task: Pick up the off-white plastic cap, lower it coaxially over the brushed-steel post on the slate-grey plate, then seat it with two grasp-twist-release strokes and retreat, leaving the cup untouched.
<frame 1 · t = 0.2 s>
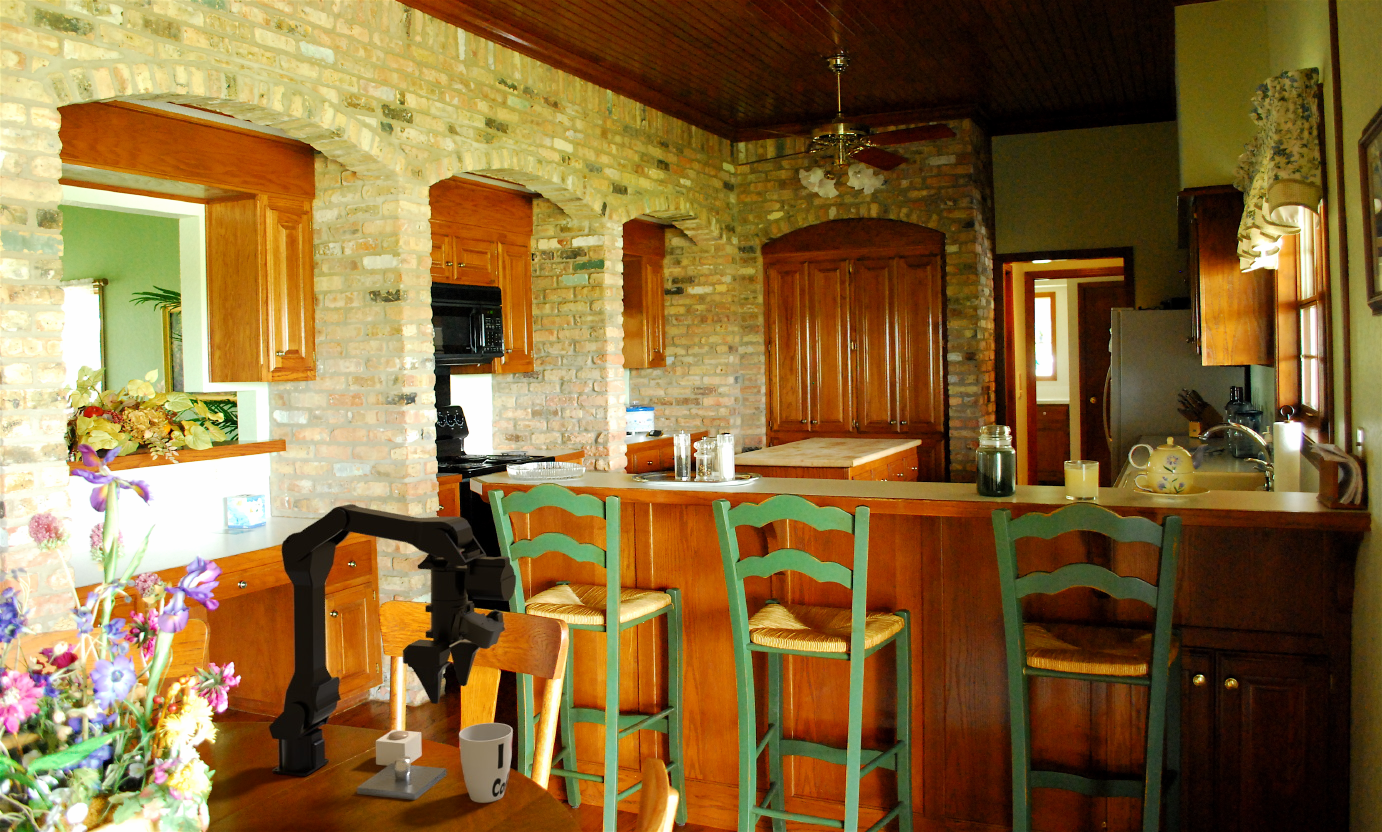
hand: (449, 694, 156), 14 cm above the table, fingers open, 9 cm apart
post fixture: (402, 783, 156), on the table
cup: (486, 796, 151), on the table
cap: (399, 759, 166), on the table
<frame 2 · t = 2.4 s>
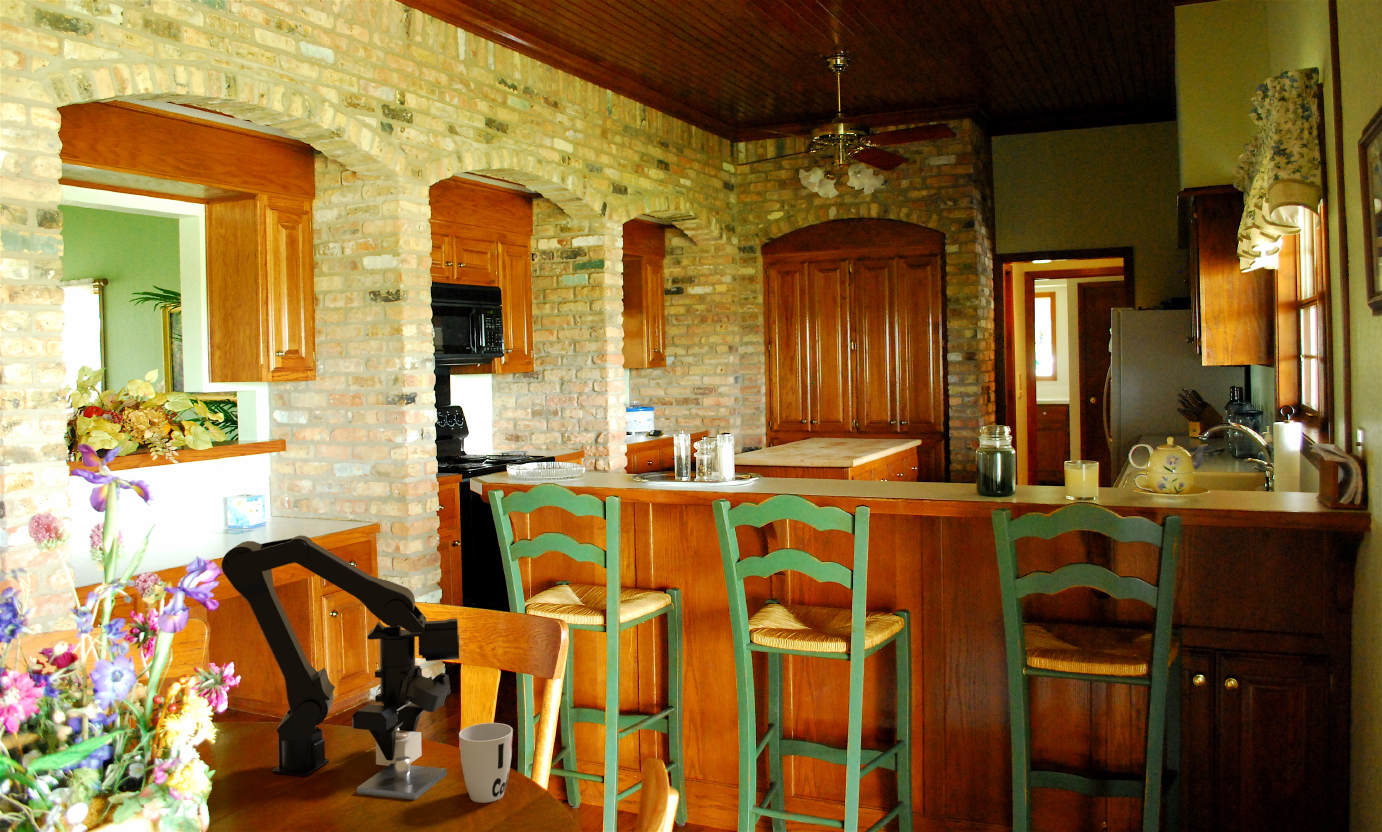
hand: (398, 753, 166), 1 cm above the table, fingers closed on cap, 5 cm apart
cap: (399, 759, 166), on the table, touching gripper
everything else where it was.
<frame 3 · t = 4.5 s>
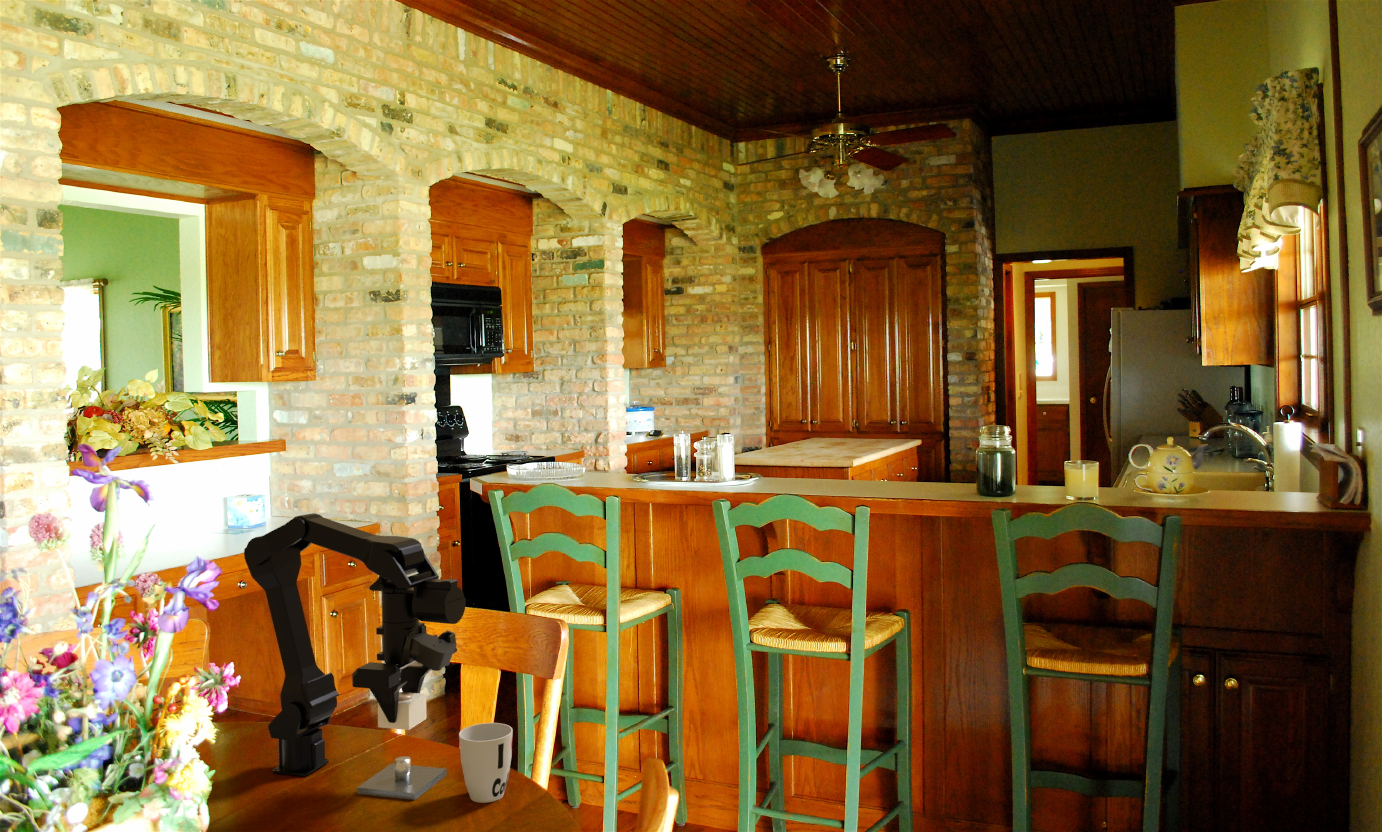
hand: (402, 716, 156), 11 cm above the table, fingers closed on cap, 5 cm apart
cap: (402, 722, 156), point 10 cm above the table, touching gripper
everything else where it was.
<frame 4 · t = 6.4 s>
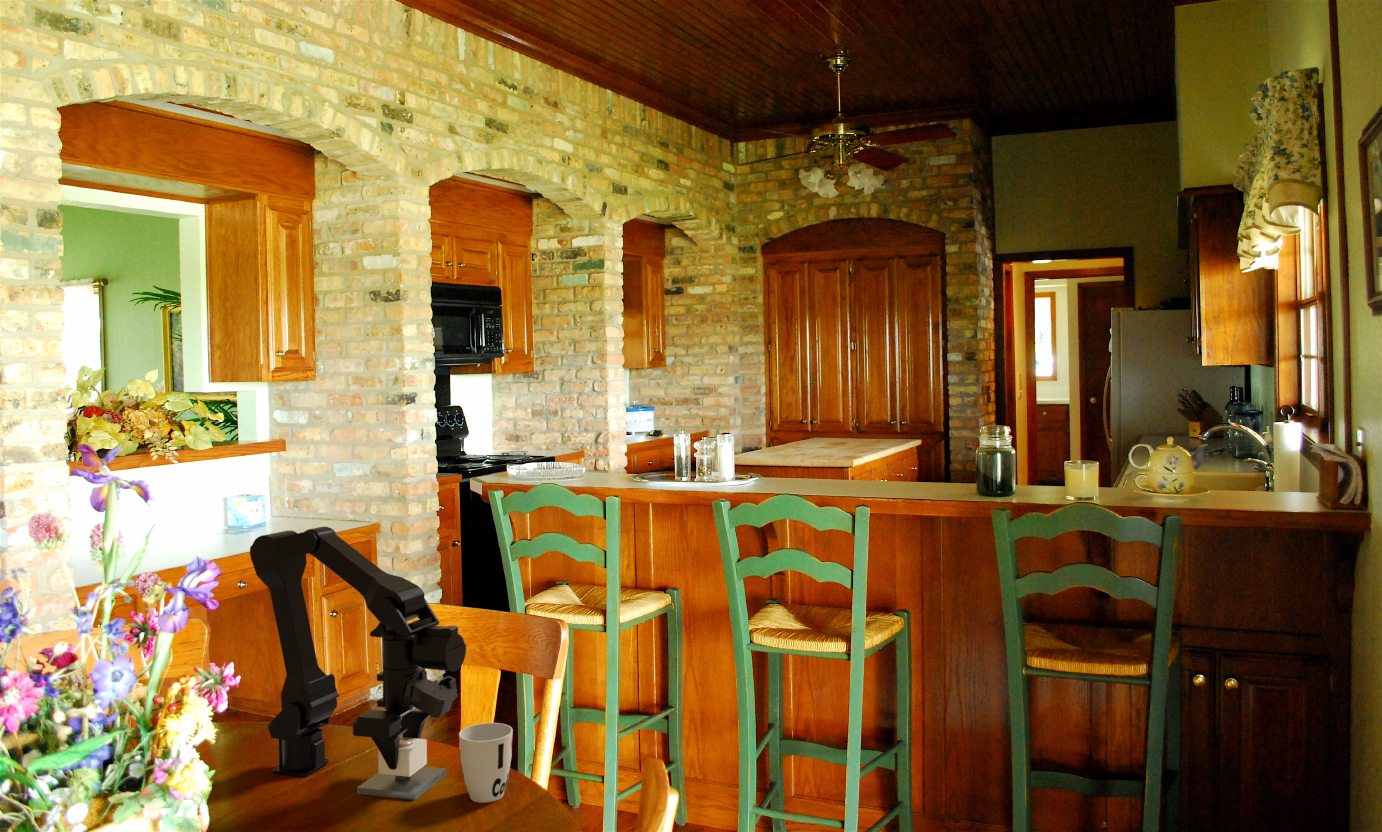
hand: (402, 762, 156), 3 cm above the table, fingers closed on cap, 5 cm apart
cap: (403, 768, 156), point 2 cm above the table, touching gripper
everything else where it was.
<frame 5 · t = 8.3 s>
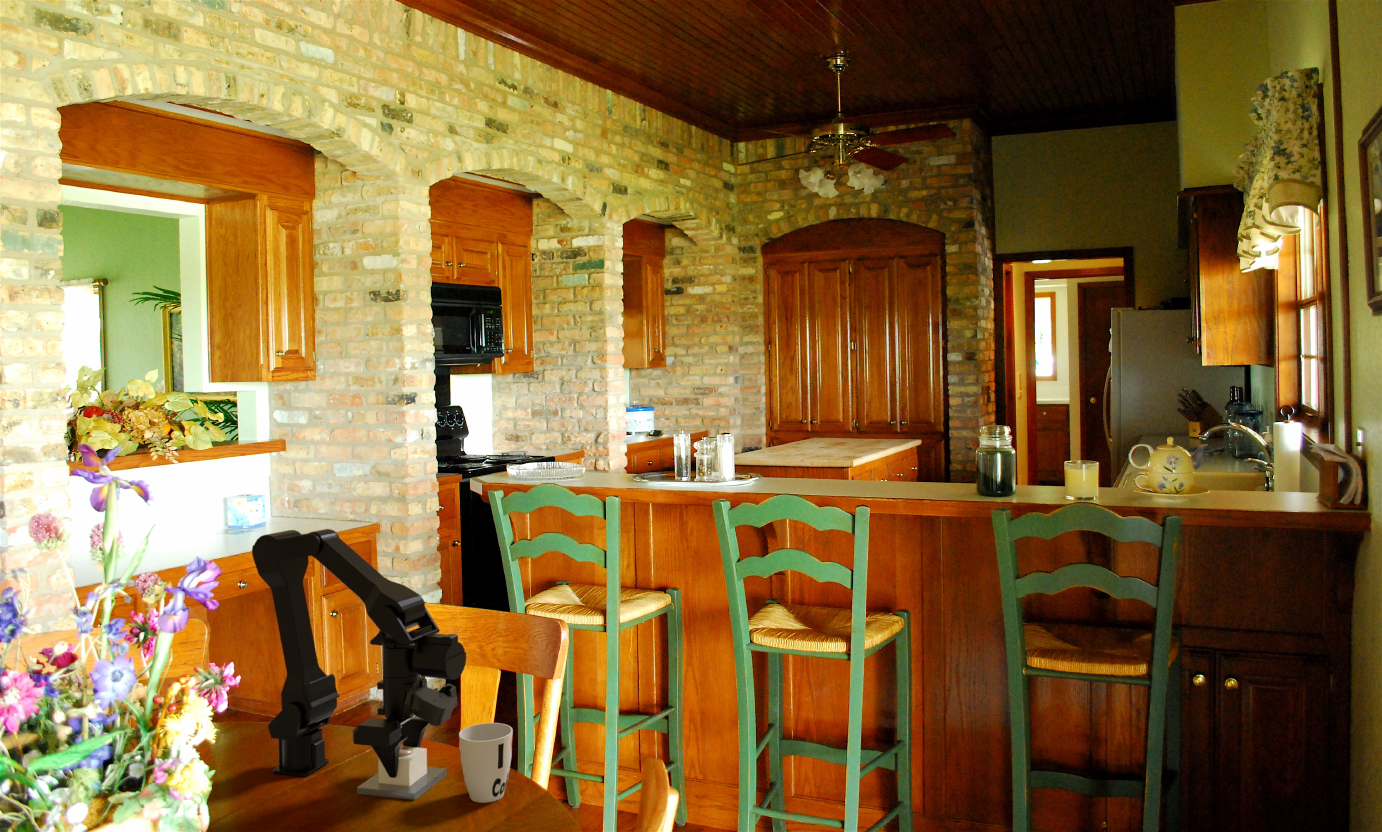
hand: (402, 770, 156), 2 cm above the table, fingers closed on cap, 5 cm apart
cap: (403, 777, 156), point 1 cm above the table, touching gripper, post fixture
everything else where it was.
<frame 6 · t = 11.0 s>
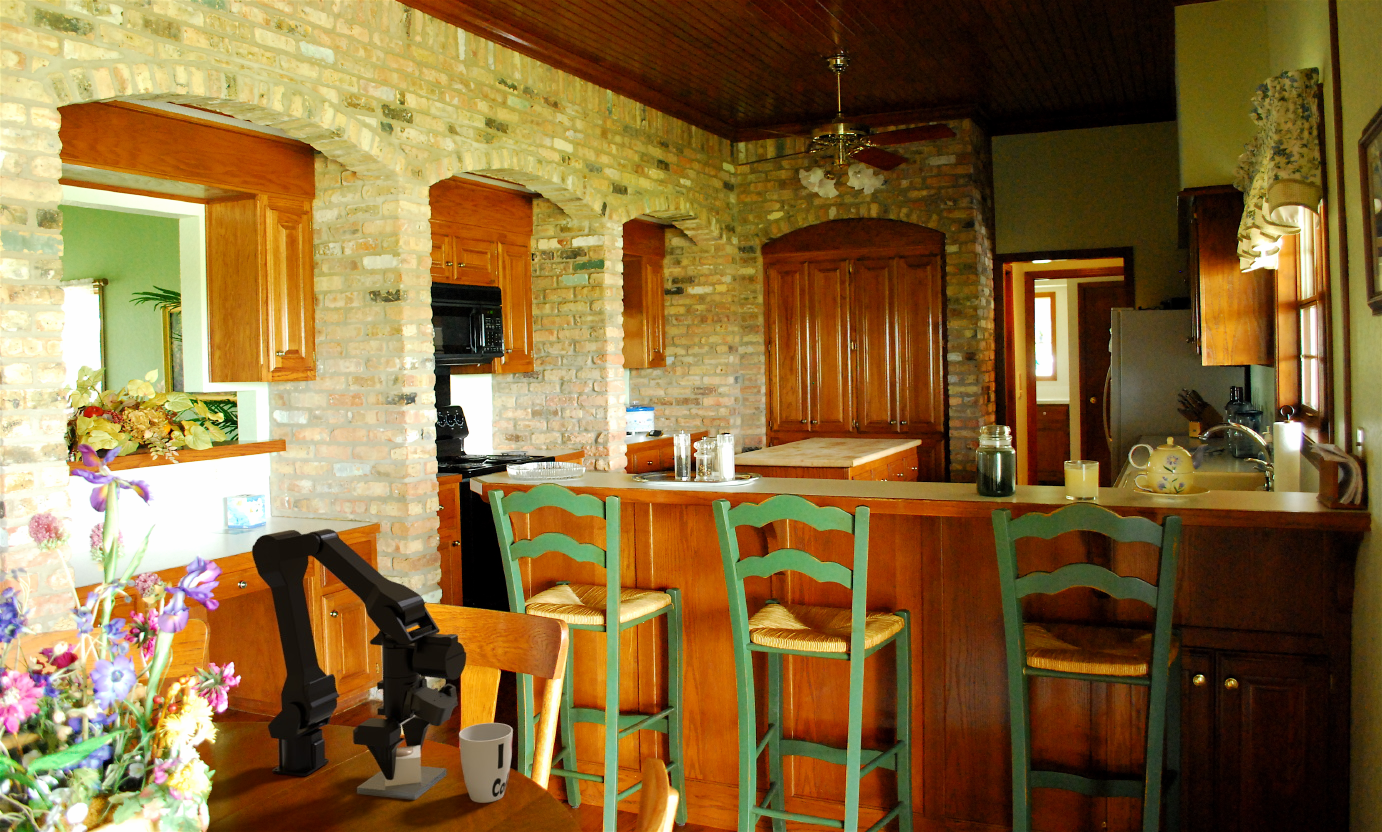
hand: (402, 770, 156), 2 cm above the table, fingers closed on cap, 7 cm apart
cap: (403, 777, 156), point 1 cm above the table, touching gripper, post fixture
everything else where it was.
when the fingers open (3 cm above the table, at t = 12.5 s): cap stays where it is, resting on post fixture.
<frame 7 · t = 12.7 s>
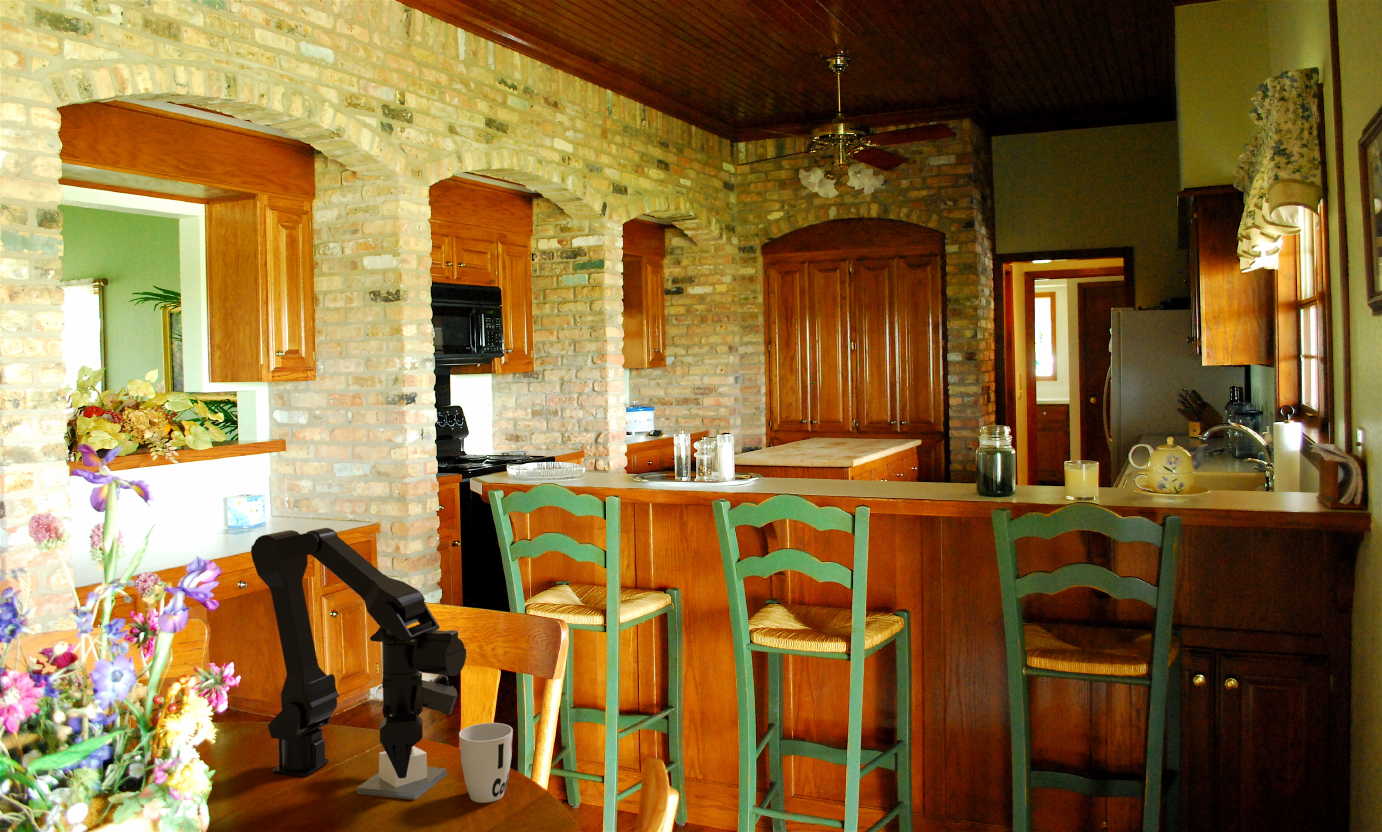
hand: (402, 766, 156), 3 cm above the table, fingers open, 9 cm apart
cap: (403, 777, 156), point 1 cm above the table, touching post fixture
everything else where it was.
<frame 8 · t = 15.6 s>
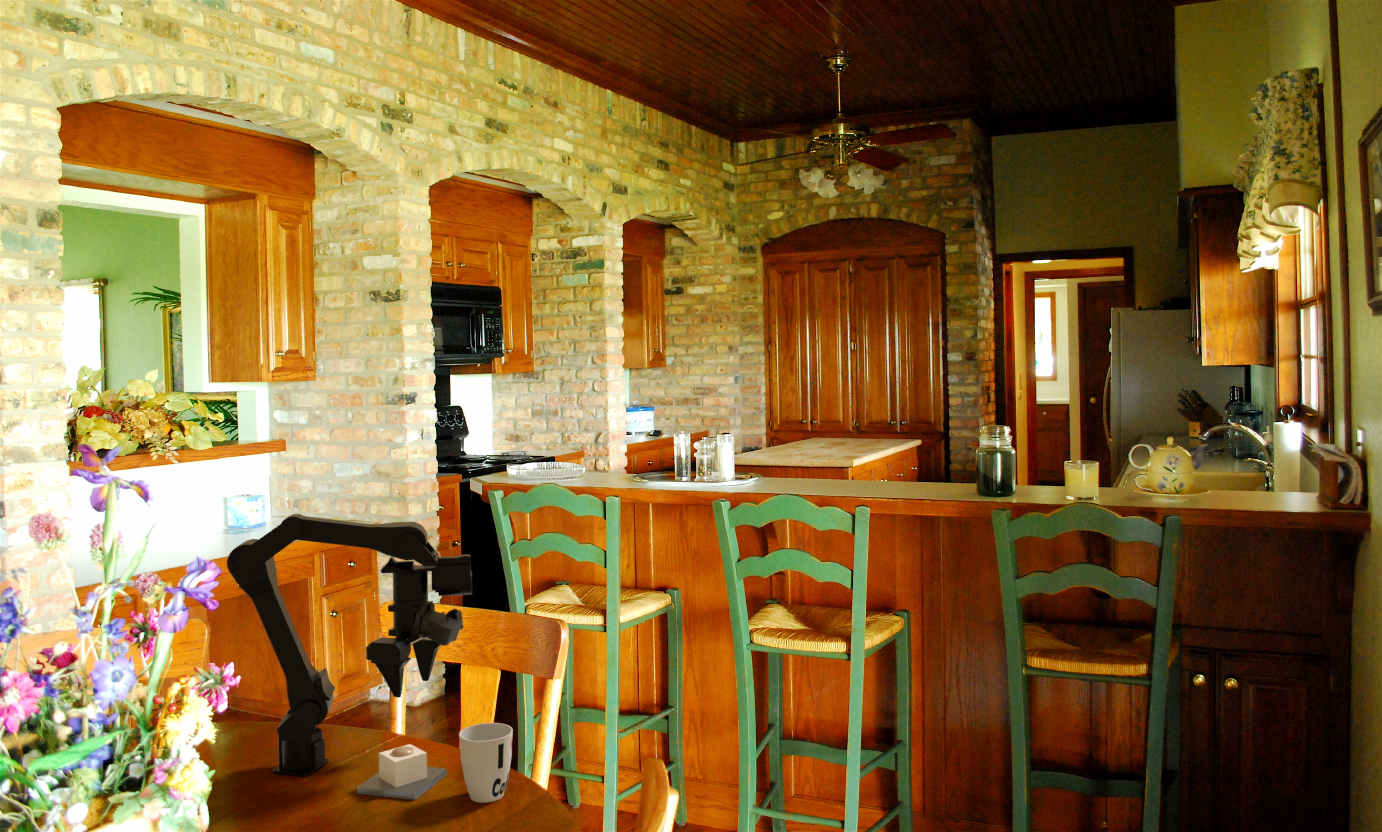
hand: (411, 688, 166), 12 cm above the table, fingers open, 9 cm apart
nothing on the table moved.
at the end: cap 0.1 cm off-centre on the post fixture, point 1.0 cm above the post fixture's base; cap tilted 0°; the gripper is holding nothing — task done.
